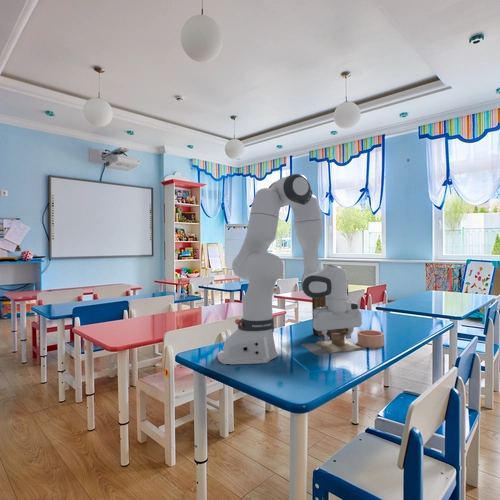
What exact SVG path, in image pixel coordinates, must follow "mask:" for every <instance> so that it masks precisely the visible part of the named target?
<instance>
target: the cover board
mask: <svg viewBox="0 0 500 500" xmlns="http://www.w3.org/2000/svg"><path fill="white" fill-rule="evenodd" d="M331 334H332V336H331V339H330V341H325V340H321V341H316V342H315V343H316V344H318V345H319V346H321V347H322V348H324V349H326V350H327V351H329V352H331V353H332V352H342V351H352V350H361V349H363V348H362V347H363V346H360V345H358V344H355V343H353V342H352V341H350V340H349V339H346V338H345V334H344V335H342V334H340V333H331ZM361 351H362V350H361ZM352 352H353V351H352ZM342 353H343V352H342ZM332 354H333V353H332Z"/></svg>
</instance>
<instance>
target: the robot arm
mask: <svg viewBox="0 0 500 500" xmlns="http://www.w3.org/2000/svg"><path fill="white" fill-rule="evenodd" d="M285 206H289V207H290V208H291V210H292V212H293V220H294V221H293V222H294V229H295V235H296V237H297V241H298V243H299V246H300V247H301V250H302V256H303V257H302V258H303V266H304V267H303V268H304V271H303V275H302V278H301V283H300V284H301V289H302V291H303V293H304V294H305V295H306V296H307V297H308V298H311V299H312V298H318V297H323V296H325V298H326V306H323V307H316V308H315V309H314V310H313V315H312V329H313V328H314V329H315V330H317V331H322V333H323V335H324V337H323V338H324V341H330V340H331V336H327V334H326V333H327V330H334V329H344V328H348V329H349V331H348V333H347V334H345V339H346V340H350V339H352V335H353V333H354V331H355V330H354V328H360V327H361V326H362V324H363V319H362V317H363V316H362V312H361V310H360V308H361V305H360V304H359V303H357V302H353V301H351V300H349V294H348V295H347V288H348V289H349V280H348V272H347V270H346V269H345V268H344V267H342V266H339V265H335V264H334V265H333V264H327V265H326V266H325V267H323V268H321V269H320V264H319V263H320V262H319V245H320V243H321V239H322V235H323V219H322V218H323V216H322V210H321V207H320V203H319V200H318V198H317V196H315V195H314V194H313V191H312V189H311V184H310V181H309V179H307V177H306V176H305V175H303V174H300V173H293V174H290V175H288V176H285V177H282V178H280V179H278V180H275V181H274V182H273V183H271V184H270V185H269V187H263V188H260V189H258V190H257V191H256V193H255V195H254V197H253V199H252V203H251V208H250V213H249V219H248V225H247V230H246V235H245V238H244V240H243V243H242V245H241V248H240V250H239V251H238V254H237V255H236V256H235V257H234V259H233V261H232V265H231V267H232V272H233V274H235V276H237V277H238V278H240V279H241V280H245V281H248V286H247V290H246V293H245V294H244V295H243V297H242V318H241V319H240V318H235V319H234V322H235V324H236V325H237V329H236V330H235V331H234V332H233V333H231V334H230V335H228V337H226V339H224V342H223V347H222V350H220V351H218V353H217V360H218V361H219V363H221V364H223V365H226V364H230V365H252V364H253V365H255V364H268V363H269V362H270V361H271V360H273V359H275V358H277V357H278V352H277V348H276V343H275V338H274V332H275V321H274V317H273V294H274V290H275V286H276V284H277V281H278V280H279V279H280V278H281V276H282V274H283V272H284V264H283V261H282V259H281V258H280V257H279V256H278V255H276V254H273V253H270V252H268V250H269V248H270V246H271V245H272V243H273V242H274V241H276V238H277V237H276V236H277V229H278V225H279V224H278V223H279V216H280V210H281V208H282V207H285ZM347 280H348V281H347ZM316 309H317V310H316ZM313 316H314V318H313Z"/></svg>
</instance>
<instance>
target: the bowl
mask: <svg viewBox="0 0 500 500" xmlns="http://www.w3.org/2000/svg"><path fill="white" fill-rule="evenodd" d="M356 333H357V345H358V346H360V347H364V348H373V349H375V348H377V349H378V348H382V347H384V346H385V333H384V332H382V331H380V330H375V329H374V330H373V329H362V330H361V329H360V330H359V331H357V332H356Z"/></svg>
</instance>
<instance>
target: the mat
mask: <svg viewBox="0 0 500 500" xmlns="http://www.w3.org/2000/svg"><path fill="white" fill-rule="evenodd" d="M300 346H301V347H303V348H305V349H306V350H308V351H310V352H311V353H312V354H313V355H315V356H320V355H329V354H330V355H332V354H338V353H339V354H341V353H350V352H351V353H352V352H360V351H364V349H363V348H362V349H361V350H352V351H342V352H332V353H331V352H329V351H327V350H326V349H324V348H322V347H321V346H319V345H318V344H316V342H312V343H303V344H301V343H300Z"/></svg>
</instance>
